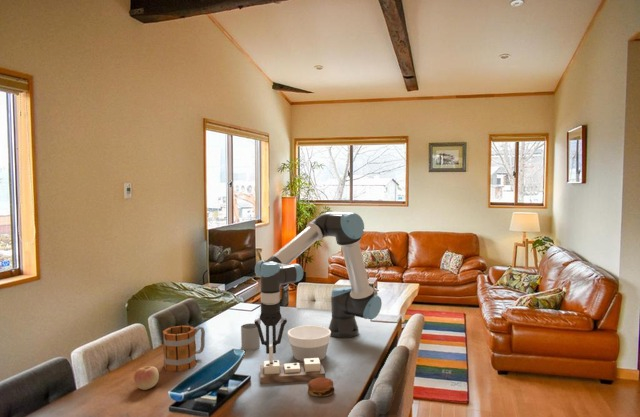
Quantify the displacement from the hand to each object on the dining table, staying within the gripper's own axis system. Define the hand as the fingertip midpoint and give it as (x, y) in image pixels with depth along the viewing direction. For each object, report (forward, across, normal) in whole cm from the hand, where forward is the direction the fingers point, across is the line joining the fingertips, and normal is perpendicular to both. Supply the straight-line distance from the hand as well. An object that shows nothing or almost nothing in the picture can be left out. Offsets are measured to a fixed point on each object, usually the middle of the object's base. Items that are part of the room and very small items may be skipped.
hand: (271, 361), depth 190 cm
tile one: (+4, -16, 0) cm, 17 cm away
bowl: (+6, -17, -20) cm, 27 cm away
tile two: (+6, -8, 0) cm, 10 cm away
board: (+6, -8, 0) cm, 10 cm away
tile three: (+4, 0, 0) cm, 4 cm away
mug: (+7, +36, -20) cm, 42 cm away
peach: (+7, +47, +3) cm, 47 cm away
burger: (+7, -18, +17) cm, 25 cm away
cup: (+6, +9, -35) cm, 37 cm away
